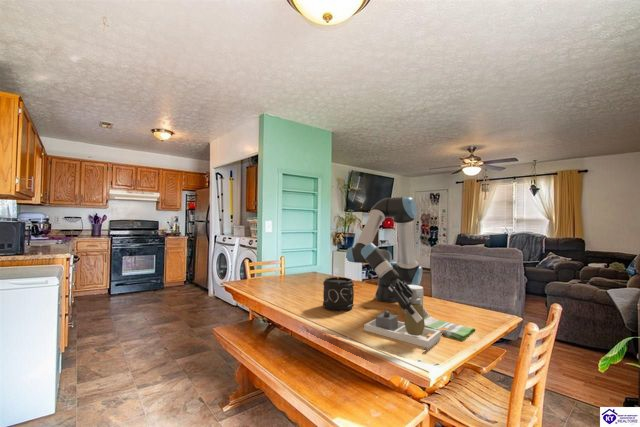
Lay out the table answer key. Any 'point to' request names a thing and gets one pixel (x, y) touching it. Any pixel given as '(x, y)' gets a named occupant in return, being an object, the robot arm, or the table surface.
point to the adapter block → (387, 321)
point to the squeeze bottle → (410, 322)
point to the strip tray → (406, 334)
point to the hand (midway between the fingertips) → (423, 318)
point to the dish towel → (448, 328)
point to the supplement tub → (419, 293)
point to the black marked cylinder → (338, 294)
